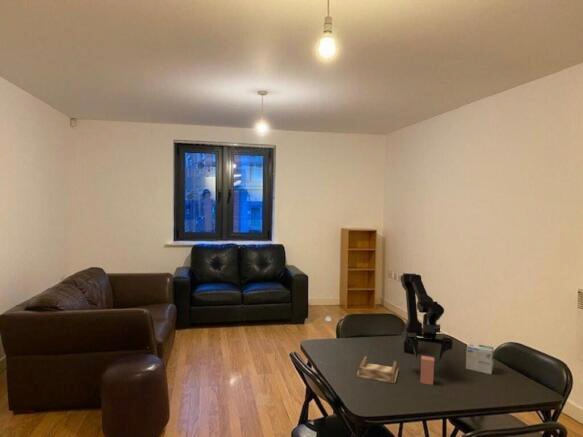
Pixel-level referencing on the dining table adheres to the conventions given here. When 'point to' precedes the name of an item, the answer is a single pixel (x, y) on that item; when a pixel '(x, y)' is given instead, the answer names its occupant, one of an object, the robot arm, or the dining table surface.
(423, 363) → the pink rectangular block
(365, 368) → the rack
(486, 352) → the light bulb box
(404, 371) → the dining table surface
